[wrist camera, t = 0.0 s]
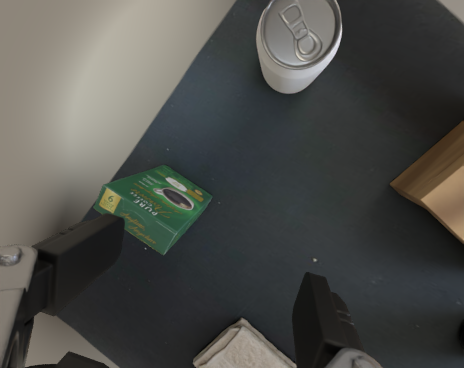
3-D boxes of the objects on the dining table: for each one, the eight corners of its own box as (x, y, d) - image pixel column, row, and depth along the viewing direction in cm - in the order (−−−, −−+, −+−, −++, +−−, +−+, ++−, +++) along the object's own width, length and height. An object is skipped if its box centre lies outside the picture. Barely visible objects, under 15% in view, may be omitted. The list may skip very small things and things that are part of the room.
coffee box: (153, 179, 36) (88, 209, 23) (163, 161, 35) (101, 182, 23) (203, 212, 36) (165, 259, 23) (214, 195, 35) (180, 234, 22)
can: (278, 105, 31) (281, 93, 20) (251, 55, 31) (237, 13, 19) (329, 74, 30) (364, 41, 18) (302, 21, 29) (321, -47, 18)
